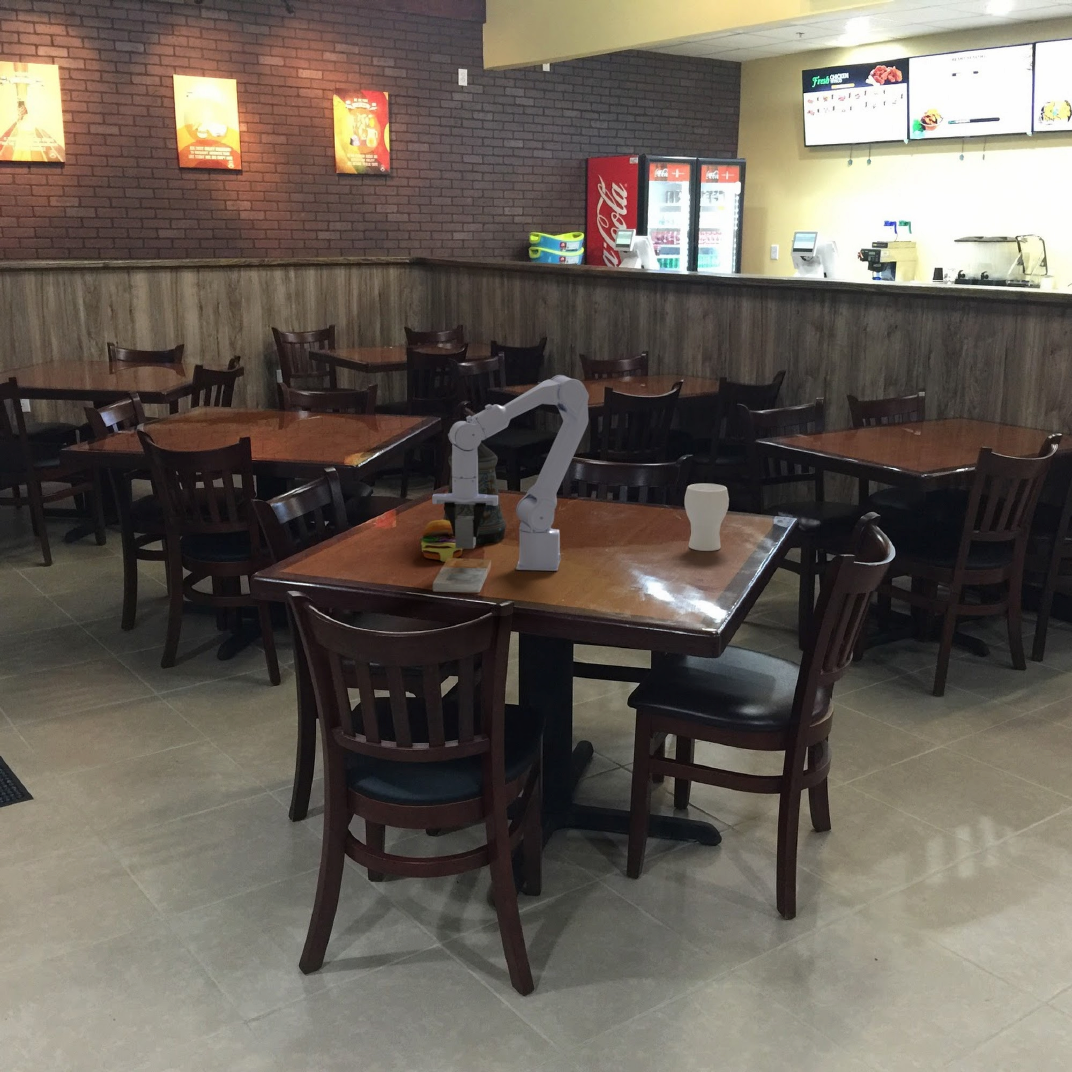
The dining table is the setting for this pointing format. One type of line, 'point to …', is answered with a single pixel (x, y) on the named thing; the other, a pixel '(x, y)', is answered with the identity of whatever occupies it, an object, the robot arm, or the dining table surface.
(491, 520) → the beer stein
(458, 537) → the block
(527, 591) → the dining table surface
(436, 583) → the grey flat rectangular block
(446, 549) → the cheeseburger
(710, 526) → the cup
